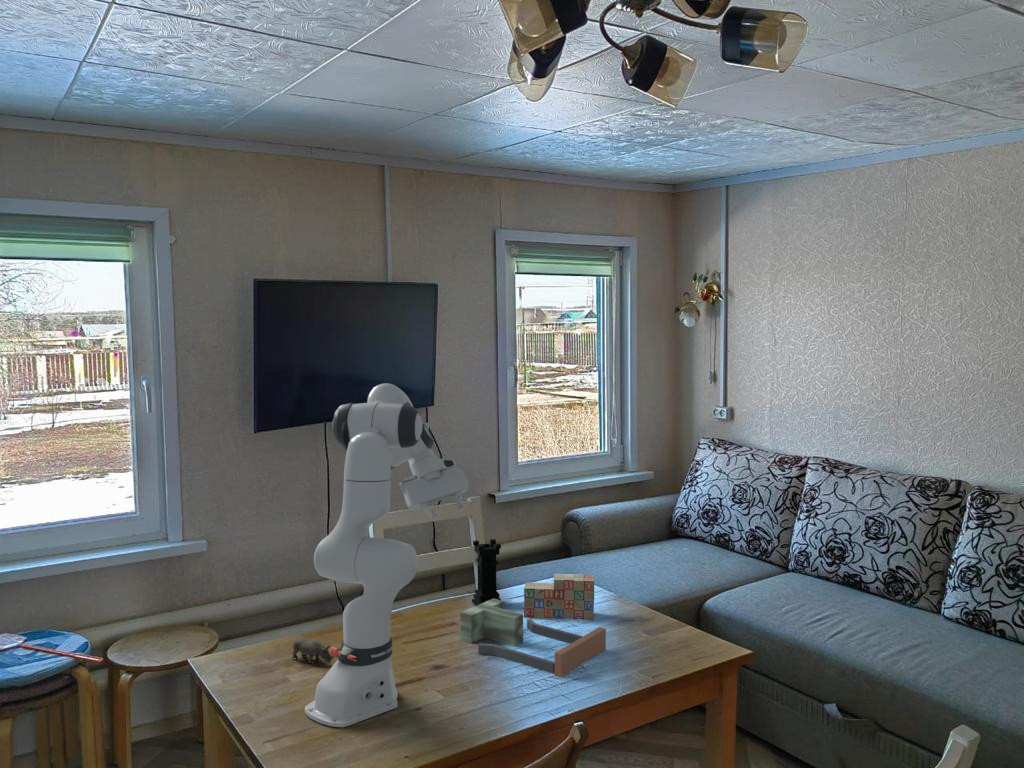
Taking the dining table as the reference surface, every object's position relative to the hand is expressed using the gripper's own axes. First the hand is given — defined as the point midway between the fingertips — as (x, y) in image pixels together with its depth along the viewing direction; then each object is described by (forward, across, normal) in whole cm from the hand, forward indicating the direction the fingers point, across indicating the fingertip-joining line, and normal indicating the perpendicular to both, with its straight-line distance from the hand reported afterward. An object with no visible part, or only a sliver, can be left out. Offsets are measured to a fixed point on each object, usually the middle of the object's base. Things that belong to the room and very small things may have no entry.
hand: (447, 512), depth 243 cm
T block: (+38, +1, +7) cm, 38 cm away
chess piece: (+24, +14, +29) cm, 40 cm away
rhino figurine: (+23, -47, +14) cm, 55 cm away
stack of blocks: (+39, +26, +13) cm, 49 cm away
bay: (+48, +6, -4) cm, 48 cm away
